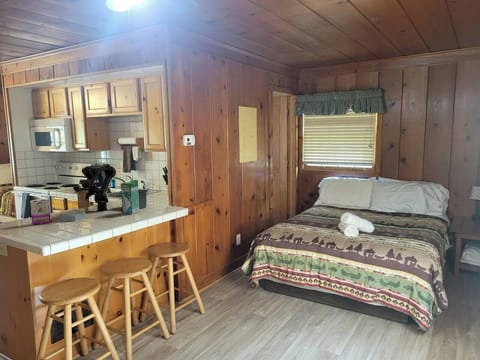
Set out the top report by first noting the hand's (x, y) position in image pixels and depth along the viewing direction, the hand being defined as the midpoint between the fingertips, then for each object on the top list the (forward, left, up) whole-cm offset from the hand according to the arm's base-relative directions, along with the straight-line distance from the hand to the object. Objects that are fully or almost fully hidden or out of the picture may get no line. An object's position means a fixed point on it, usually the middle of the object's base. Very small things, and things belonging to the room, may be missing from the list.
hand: (82, 199), depth 254 cm
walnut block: (-1, 0, -7) cm, 7 cm away
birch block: (-12, -16, -14) cm, 24 cm away
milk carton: (-27, +19, -14) cm, 36 cm away
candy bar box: (+24, -12, -14) cm, 30 cm away
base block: (+6, -3, -14) cm, 15 cm away
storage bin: (-44, +7, -14) cm, 47 cm away
